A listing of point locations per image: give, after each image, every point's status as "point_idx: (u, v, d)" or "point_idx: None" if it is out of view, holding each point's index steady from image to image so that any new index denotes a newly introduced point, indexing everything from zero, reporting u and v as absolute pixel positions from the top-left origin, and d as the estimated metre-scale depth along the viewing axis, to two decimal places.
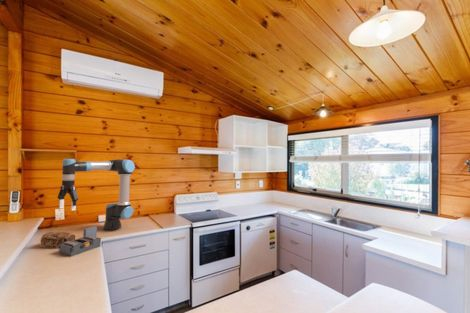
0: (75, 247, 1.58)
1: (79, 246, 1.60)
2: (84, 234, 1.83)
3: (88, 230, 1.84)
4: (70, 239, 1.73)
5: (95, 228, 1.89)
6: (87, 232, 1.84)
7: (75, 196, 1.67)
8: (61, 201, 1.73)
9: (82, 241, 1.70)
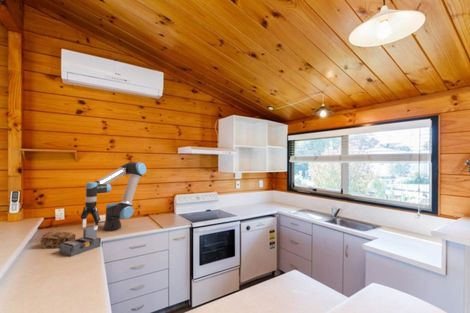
0: (75, 247, 1.58)
1: (79, 246, 1.60)
2: (84, 234, 1.83)
3: (88, 230, 1.84)
4: (71, 239, 1.74)
5: None
6: (87, 232, 1.84)
7: (97, 217, 1.83)
8: (84, 221, 1.89)
9: (82, 241, 1.70)
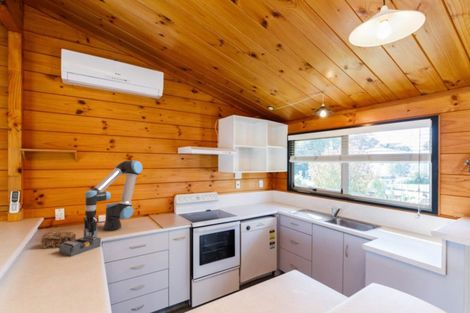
0: (75, 247, 1.58)
1: (79, 246, 1.60)
2: (84, 234, 1.83)
3: (88, 230, 1.84)
4: (72, 238, 1.76)
5: None
6: (88, 232, 1.84)
7: (94, 228, 1.85)
8: None
9: (82, 241, 1.70)
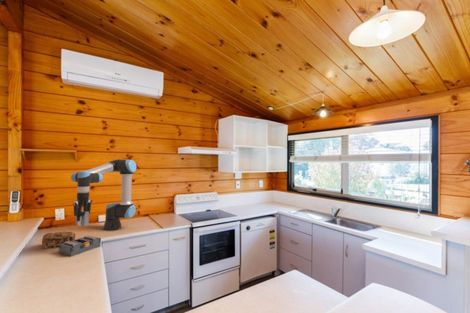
0: (75, 247, 1.58)
1: (79, 246, 1.60)
2: None
3: None
4: (73, 237, 1.77)
5: (83, 213, 1.67)
6: None
7: (74, 212, 1.65)
8: None
9: (82, 241, 1.70)
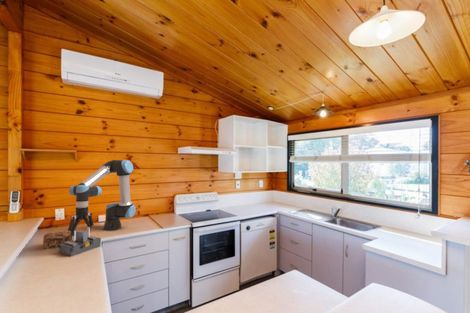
0: (75, 247, 1.58)
1: (79, 246, 1.60)
2: None
3: (77, 233, 1.67)
4: None
5: (82, 234, 1.65)
6: (76, 235, 1.67)
7: (69, 226, 1.61)
8: (87, 229, 1.72)
9: None
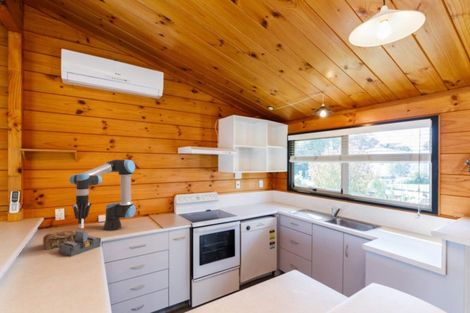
0: (75, 247, 1.58)
1: (79, 246, 1.60)
2: None
3: (77, 233, 1.67)
4: None
5: (82, 234, 1.65)
6: (76, 235, 1.67)
7: (75, 215, 1.64)
8: None
9: None
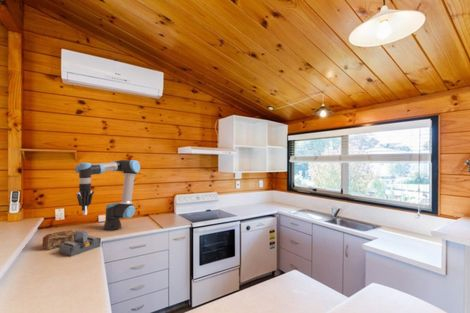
0: (75, 247, 1.58)
1: (79, 246, 1.60)
2: None
3: (77, 233, 1.67)
4: None
5: (82, 234, 1.65)
6: (76, 235, 1.67)
7: (79, 202, 1.73)
8: None
9: None
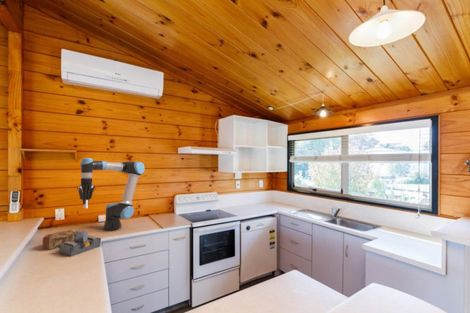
0: (75, 247, 1.58)
1: (79, 246, 1.60)
2: None
3: (77, 233, 1.67)
4: None
5: (82, 234, 1.65)
6: (76, 235, 1.67)
7: (80, 196, 1.79)
8: None
9: None
